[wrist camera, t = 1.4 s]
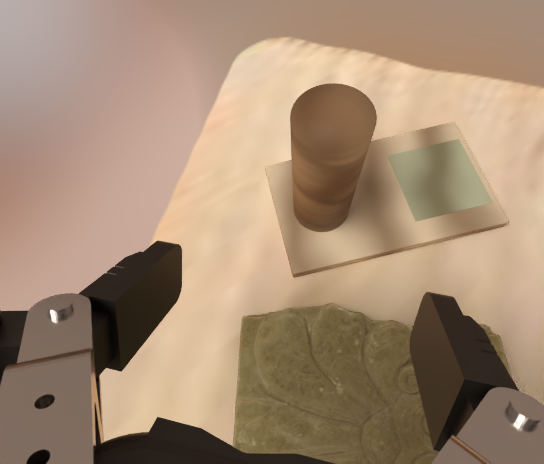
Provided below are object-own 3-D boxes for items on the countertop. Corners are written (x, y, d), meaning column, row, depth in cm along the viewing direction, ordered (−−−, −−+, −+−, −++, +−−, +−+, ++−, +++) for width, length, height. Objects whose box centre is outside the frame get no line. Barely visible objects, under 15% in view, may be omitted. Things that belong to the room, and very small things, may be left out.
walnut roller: (339, 177, 33) (360, 75, 21) (356, 224, 31) (389, 140, 20) (287, 189, 32) (281, 94, 21) (301, 238, 31) (302, 161, 19)
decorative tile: (546, 613, 22) (591, 656, 18) (228, 593, 23) (216, 630, 20) (483, 310, 29) (507, 302, 25) (241, 309, 30) (234, 301, 27)
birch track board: (450, 128, 35) (455, 121, 34) (502, 226, 31) (509, 221, 30) (265, 172, 34) (264, 166, 34) (293, 277, 30) (292, 274, 29)
